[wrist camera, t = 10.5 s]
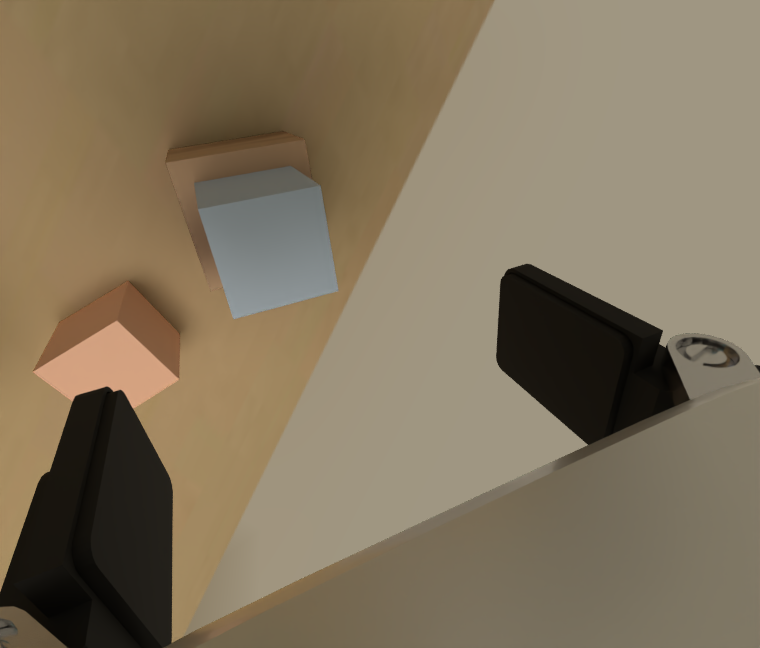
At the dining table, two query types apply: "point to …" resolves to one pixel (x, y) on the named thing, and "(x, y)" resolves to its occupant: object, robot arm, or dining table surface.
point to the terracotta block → (113, 348)
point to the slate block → (267, 238)
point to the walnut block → (227, 162)
